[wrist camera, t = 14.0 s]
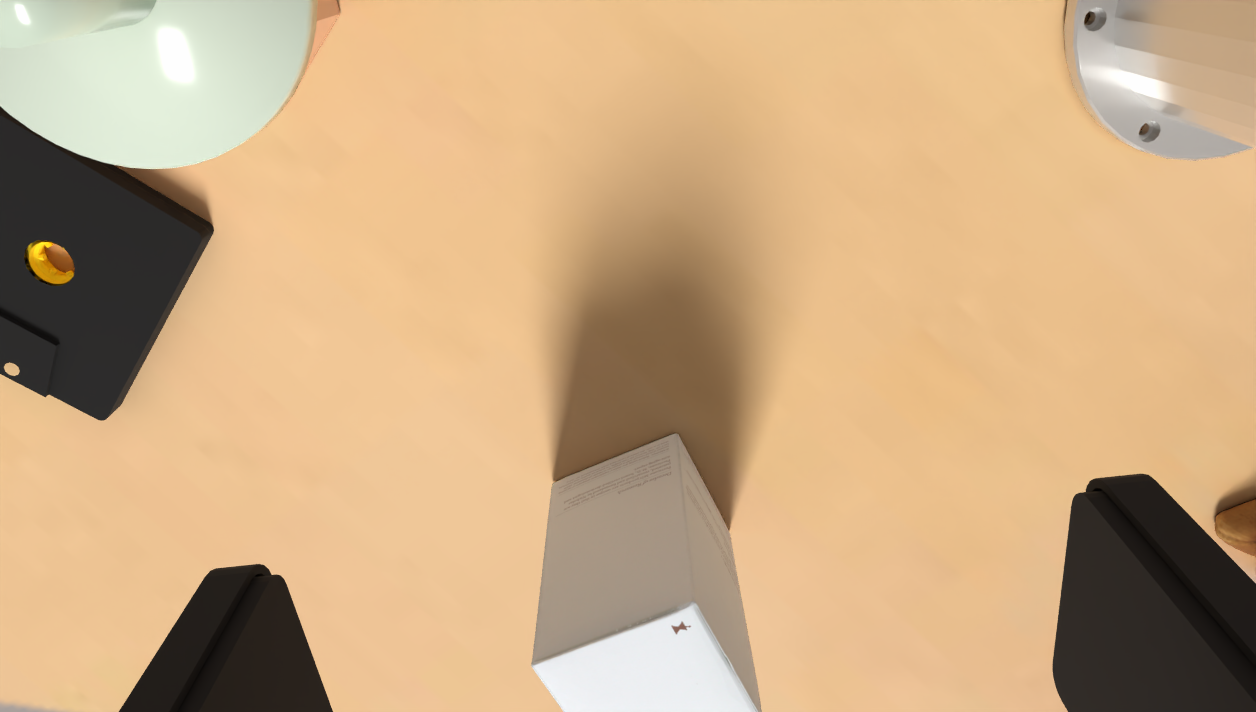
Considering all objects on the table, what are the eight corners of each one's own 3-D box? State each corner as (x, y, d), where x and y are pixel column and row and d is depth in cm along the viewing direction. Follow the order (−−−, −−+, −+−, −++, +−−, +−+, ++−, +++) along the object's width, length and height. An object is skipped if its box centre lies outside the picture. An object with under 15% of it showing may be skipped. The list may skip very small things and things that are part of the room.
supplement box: (547, 480, 46) (523, 663, 34) (679, 428, 45) (699, 600, 33) (608, 582, 49) (605, 781, 37) (733, 536, 47) (769, 728, 36)
